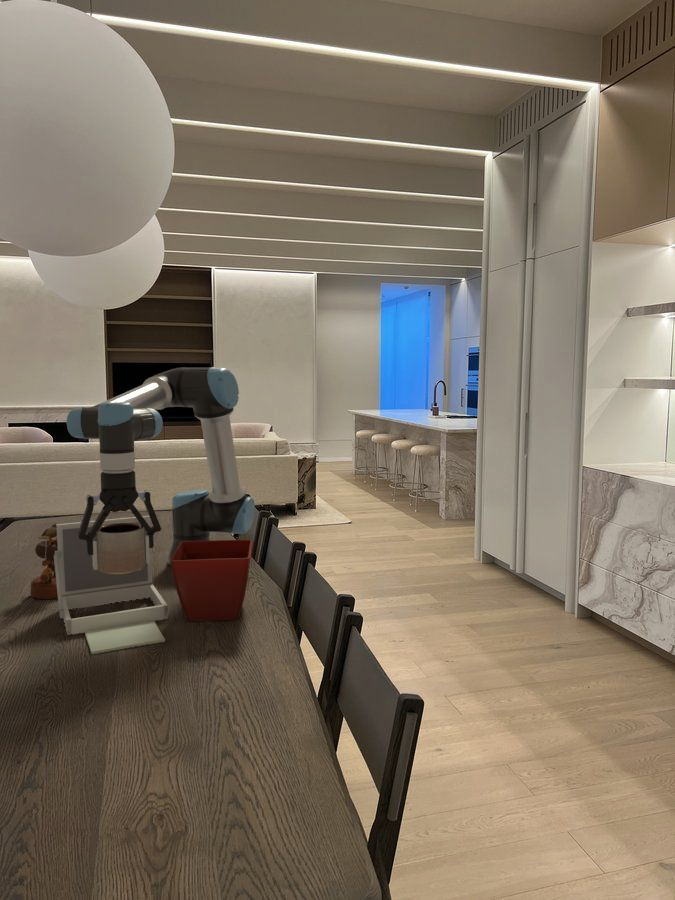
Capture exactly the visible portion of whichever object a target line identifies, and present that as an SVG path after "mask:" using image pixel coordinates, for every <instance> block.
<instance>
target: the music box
mask: <svg viewBox="0 0 675 900" xmlns="http://www.w3.org/2000/svg"><path fill="white" fill-rule="evenodd" d="M56 524H58V523H56V522H55V523H53V524H52V525H51V527H48V528H46V529H45V530H44V531H43V532H42V533H41V535H40V536H39V537H38V539H42V541H39V542H38V543H37V544H36V546H35V549H34V550H35V551H34V552H35V555H36V556H37V557H39V558H41V559H44V560H42V562H41V566H42V567H45V568H44V570H43V571H42V573H41V574H40V576H37V577H35V578H34V579H33V580H31V582H30V596H32V597H34V598H37V599H45V600H46V599H48V600H49V599H50V600H51V599H58V593H57V583H56V573H55V563H54V555H55V551H58V546H57V526H56ZM53 538H55V539H53Z"/></svg>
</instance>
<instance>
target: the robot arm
mask: <svg viewBox="0 0 675 900" xmlns="http://www.w3.org/2000/svg"><path fill="white" fill-rule="evenodd" d="M239 390H240V389H239V385H238V381H237V379H236V377H235V375H234V374H233V372H231V370H230V369H228V368H225V367H216V366H211V367H208V366H207V367H205V366H204V367H201V366H200V367H184V366H183V367H176V368H171V369H169V370H166V371H163V372H161V373H157V374H155V375H152V376H151V377H148V378H147V379H145V380H144V381H143V383H142V384H141V385H138V386H137V387H134V388H132V389H130V390H127V391H126V392H124V393H121V394H119V395H116V396H114V397H112V398H109V399H107V400H104V401H103V402H101V403H99V404H96V405H94V406H90V407H84V406H83V407H82V406H81V407H75V408H72V409H71V410H70V411H69V413H68V414H67V417H66V427H67V431H68V433H69V435H70V436H71V437H73V438H75V439H84V440H90V439H91V440H99V464H100V465H99V468H100V470H101V473H99V474H100V493H99V494H96V495H92V494H87V495H86V507H85V510H84V513H83V517H82V520H81V521H80V522H81V525H80V528H79V532H78V537H79V539H81V540H86V541H87V553H88V555H92V559H93V568H94V570H98V563H97V541H96V539H94V537H95V536H96V534H97V531H99V529H100V527H101V526H102V524H103V522H104V521H105V520H107V518H108V516H109V515H110V513H111V512H112V513H119V512H127V511H129V510H130V512H131V513H132V514H133V517H136V518H137V520H138V521H139V522H140V524H141V525H142V526H143V527H144V529H145V530H146V532H147V533H145V534H144V536H145V555H146V564H147V563H150V557H149V548H151V549H154V543H155V542H154V534H156V533H157V532H161V531H162V527H161V525H160V522H159V519H158V516H157V514H156V512H155V509H154V507H153V504H152V502H151V493H150V491H148V490H146V489H145V490H143V491H137V486H136V483H137V482H136V471H135V470H134V469H135V468H136V461H135V460H136V459H135V457H136V456H135V442H137V441H143V440H147V441H148V440H151V439H153V438H155V437H157V436H158V435H159V434H161V432H162V430H163V427H164V426H163V424H164V422H163V418H162V415H161V414H160V412H159V411H158V410H160V411H161V410H164V409H165V408H174V407H175V408H176V407H179V408H180V407H182V408H192V409H193V414H194V417H196V418H197V419H198V420H200V423H201V429H202V435H203V442H204V443H203V444H204V447H205V453H206V454H205V455H206V459H207V460H206V461H207V466H208V471H209V472H208V473H209V479H210V483H211V484H210V485H211V489H212V490H211V491H209V490H208V489H196V490H188V491H184V492H180V493H179V492H178V493H176V494H175V495H173V497H172V499H171V501H172V502H171V514H172V515H171V517H172V518H171V519H172V520H171V521H172V542H171V546H170V549H169V552H168V556H167V563H168V565H169V566H171V558H172V556H173V555H174V553H175V551H176V549H177V548H178V546H179V544H180V542H184V541H210V540H211V535H210V533H221V534H222V533H224V534H225V533H226V534H232V535H235V534H245V533H247V532H248V531H249V529H250V528H251V527H252V524H253V521H254V519H255V511H256V503H255V500H254V498H253V497H251V496H247V492H246V488H245V487H244V486H242V485H241V484H240V478H239V477H240V475H239V471H238V465H237V464H238V463H237V456H236V452H235V445H234V443H235V442H234V438H233V437H234V436H233V431H232V424H231V418H230V416H231V415H232V413H233V412H234V408H235V407H236V406H237V405H238V401H239V394H240V391H239ZM138 498H140V500H141V501H142V502H143V504H144V506H145V509H146V512H147V514H148V516H150V522H151V523H152V526H151V527H150V526H149V525H148V524H147V522H146V521H145V520H144V518H143V517H142V516H143V515H142V514H141V513H140V512H139V510H138V509H137V508H136V506H135V505H134V504H135V502H136V501H137V499H138ZM99 501H100V502H102V504H103V505H104V506H103V507H102V508H101V511H100V512H99V514H98V516H97V517H96V519H95V520H94V521H95V522H94V524H93V526H92V527H91V529H90V531H89V532H88V534H86V531H87V528H88V524H89V521H90V520H91V517H92V515H93V511H94V506H96V505H98V504H97V503H98V502H99Z"/></svg>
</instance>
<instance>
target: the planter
mask: <svg viewBox="0 0 675 900" xmlns="http://www.w3.org/2000/svg"><path fill="white" fill-rule="evenodd" d="M96 541H97V563H98V571H100V572H102V573H104V574H114V575H117V574H127V573H132V572H136V571H139V570H141V569H142V568H143V567H144V566H145V565H146V555H145V536H144V527H143V526H142V525H141V524H137V523H114V524H108V525H103V526H101V527H100V529H99V531H97V534H96Z"/></svg>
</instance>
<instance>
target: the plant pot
mask: <svg viewBox="0 0 675 900" xmlns="http://www.w3.org/2000/svg"><path fill="white" fill-rule="evenodd" d="M252 549H253V540H252V539H215V540H211V539H210V541H184V542H180V544H179V546H178V548H177V549H176V551H175V553H174V555H173V556H172V558H171V565H170V567H171V571H172V576H173V581H174V585H175V589H176V592H177V596H178V600H179V602H180V605H181V608H182V611H183V613H184V615H185V619H186V620H187V621H188V622H207V621H208V622H209V621H212V622H213V621H233V620H234V621H235V620H236V621H237V620H239V618H240V616H241V614H242V613H241V612H242V608H243V604H244V600H245V596H246V590H247V585H248V579H249V571H250V564H251V558H252Z"/></svg>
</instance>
